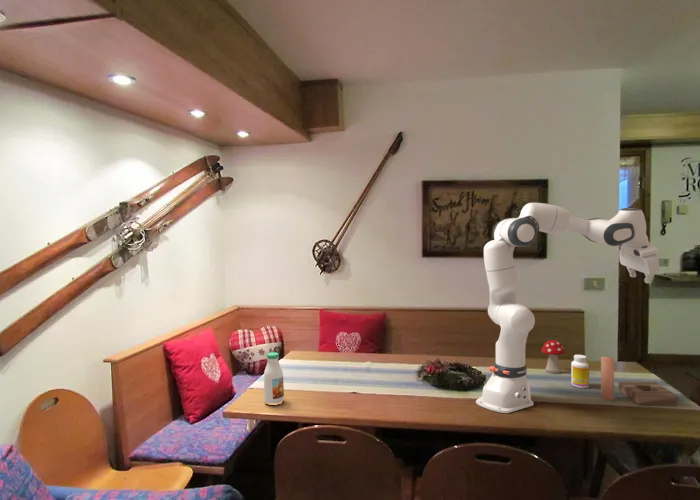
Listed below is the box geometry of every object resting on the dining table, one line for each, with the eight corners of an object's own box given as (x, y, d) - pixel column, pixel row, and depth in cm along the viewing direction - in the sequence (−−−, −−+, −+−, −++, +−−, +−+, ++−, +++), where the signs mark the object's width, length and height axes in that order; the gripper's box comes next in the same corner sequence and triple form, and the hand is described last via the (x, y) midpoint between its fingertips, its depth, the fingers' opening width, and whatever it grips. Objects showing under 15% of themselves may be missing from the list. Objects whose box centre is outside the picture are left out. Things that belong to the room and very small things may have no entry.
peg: (611, 401, 171) (611, 360, 170) (599, 398, 174) (599, 358, 173) (615, 398, 173) (615, 358, 172) (603, 395, 177) (603, 355, 176)
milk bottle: (265, 407, 173) (263, 357, 172) (263, 400, 180) (262, 351, 179) (285, 404, 175) (283, 355, 174) (282, 397, 182) (281, 350, 181)
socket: (676, 405, 165) (677, 395, 165) (637, 405, 167) (637, 394, 166) (655, 391, 179) (655, 382, 179) (618, 391, 180) (618, 381, 180)
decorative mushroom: (560, 369, 209) (560, 338, 209) (567, 375, 201) (567, 342, 200) (539, 369, 210) (538, 338, 210) (545, 375, 202) (545, 342, 201)
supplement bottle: (591, 389, 184) (591, 358, 183) (573, 388, 185) (573, 358, 184) (585, 383, 190) (586, 354, 189) (569, 382, 191) (569, 353, 191)
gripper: (613, 244, 186) (617, 275, 188) (643, 254, 166) (648, 288, 168) (628, 240, 186) (632, 271, 188) (660, 249, 165) (665, 284, 168)
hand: (640, 279), depth 178 cm, fingers open, 8 cm apart
